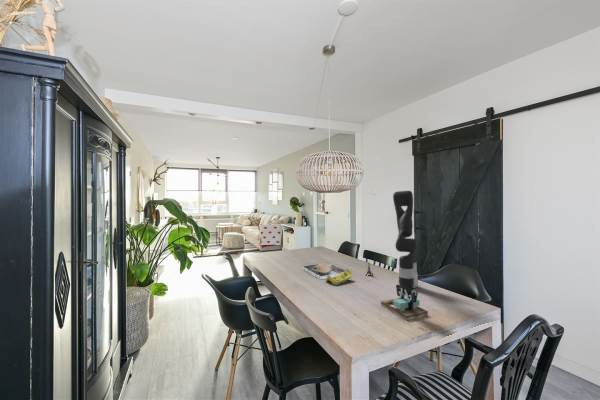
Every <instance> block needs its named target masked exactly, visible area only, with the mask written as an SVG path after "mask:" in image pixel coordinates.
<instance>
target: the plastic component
mask: <svg viewBox="0 0 600 400" xmlns="http://www.w3.org/2000/svg"><path fill="white" fill-rule="evenodd" d="M352 277H353V272H352V271H351V270H350V269H349V268H346V269H344V271H341V272H340V274H338V275H334V276H331V275H327V276H326V279H325V282H327V281H328V282H331V283H332V285H335V286H337V285H341V284H344V283H346V282H347V281H349V280H350V279H351V278H352Z"/></svg>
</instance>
